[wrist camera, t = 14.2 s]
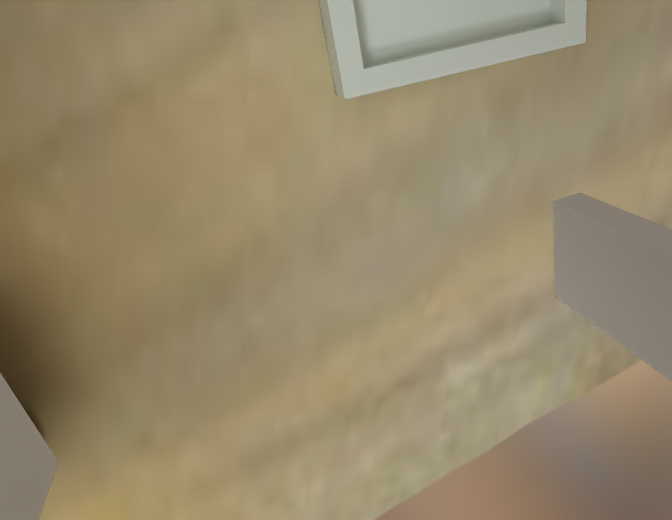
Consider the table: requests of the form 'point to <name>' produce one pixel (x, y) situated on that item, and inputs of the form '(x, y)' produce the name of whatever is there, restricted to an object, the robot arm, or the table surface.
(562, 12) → the tray
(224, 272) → the table surface
